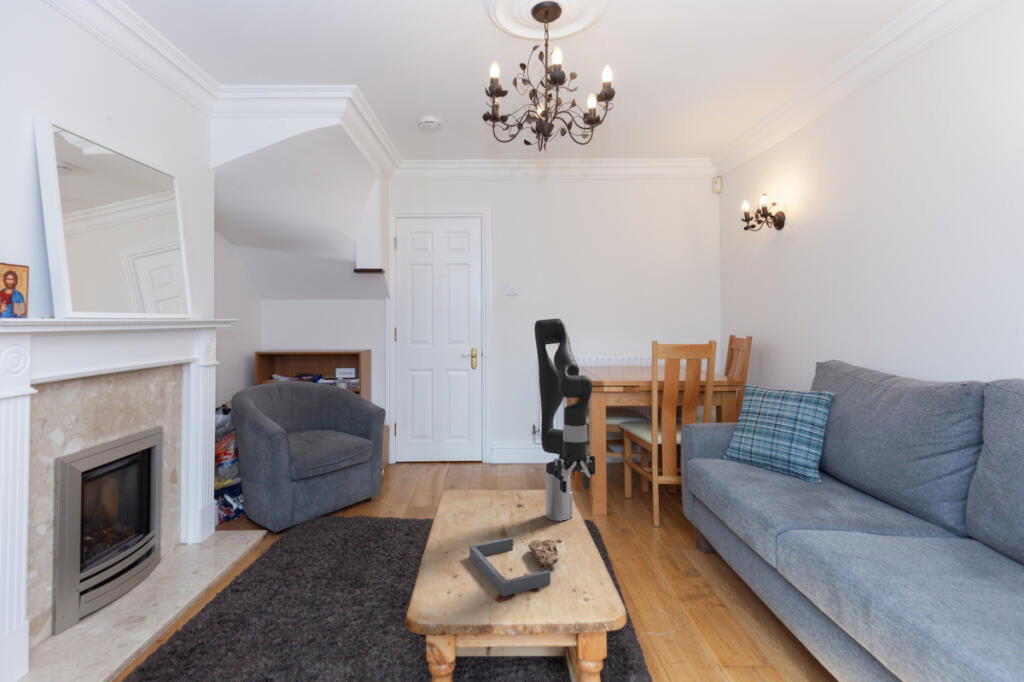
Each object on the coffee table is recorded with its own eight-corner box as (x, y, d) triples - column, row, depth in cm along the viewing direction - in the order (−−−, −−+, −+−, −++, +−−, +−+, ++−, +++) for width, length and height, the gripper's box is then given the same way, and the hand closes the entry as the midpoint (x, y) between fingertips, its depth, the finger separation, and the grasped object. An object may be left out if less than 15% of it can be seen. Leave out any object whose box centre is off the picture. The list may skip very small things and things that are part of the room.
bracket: (511, 548, 156) (511, 537, 156) (550, 584, 133) (550, 571, 133) (469, 557, 149) (469, 546, 149) (503, 596, 127) (503, 583, 127)
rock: (574, 562, 140) (542, 559, 138) (570, 579, 140) (538, 576, 138) (556, 535, 157) (527, 532, 154) (552, 551, 157) (523, 547, 154)
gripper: (587, 434, 158) (586, 484, 158) (549, 438, 152) (549, 489, 152) (600, 439, 151) (600, 490, 151) (561, 443, 145) (561, 497, 145)
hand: (574, 490), depth 151 cm, fingers open, 7 cm apart
